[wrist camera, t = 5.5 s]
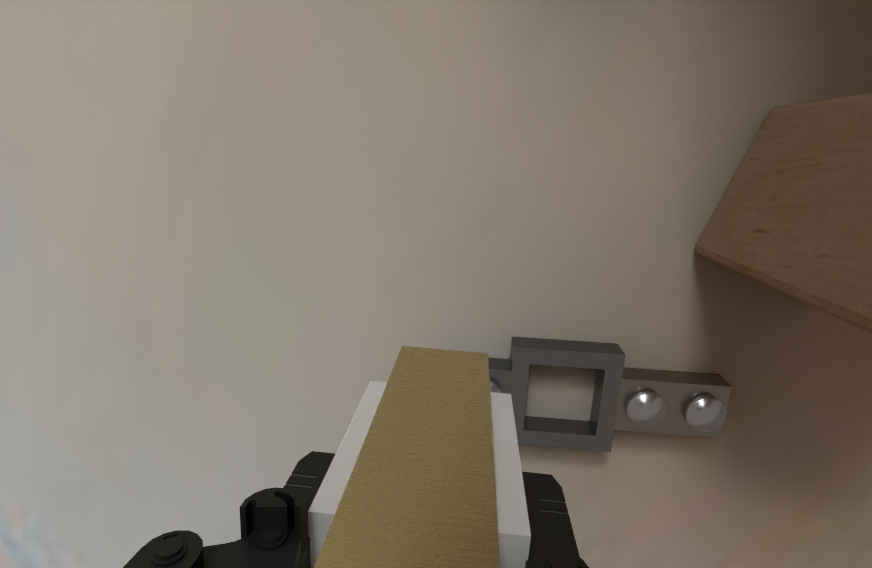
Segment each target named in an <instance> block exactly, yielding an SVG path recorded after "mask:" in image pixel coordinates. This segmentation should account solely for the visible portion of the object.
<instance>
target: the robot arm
mask: <svg viewBox="0 0 872 568" xmlns="http://www.w3.org/2000/svg"><path fill="white" fill-rule="evenodd" d="M386 385H387V382H377V381H370V383H369V385H368V387H367V389H366V391H365V393H364V395H363V397H362V399H361V402H360V404H359V406H358V408H357V410H356V412H355V414H354V416H353V418H352V420H351V423H350V425H349V427H348V429H347V431H346V433H345V435H344V437H343V439H342V441H341V444H340V446H339V448H338V450H337V452H336V454H333V453H324V452H314V451H312V452H310V453H309V454H308V455H306V456H305V457H304V458H302V459H301V460H300V461H299V462H298V464H297V465H296V467H295V469H294V470H293V472H292V475H290V477H289V479H288V481H287V482H286V485H285V486H284V487H283V488H270V489H264V490H262V491H259V492H256V493H254V494H253V495H251V496H250V497H248V498H247V499H245V501H244V502H243V504H242V505H241V506H240V522H241V539H240V540H238V541H235V542H230V543H226V544H219V545H212V546H205V547H203V542H202V539H201V538H200V537H199V535H198V534H196V533H193V532H191V531H173V532H169V533H165V534H163V535H160V536H158V537H156V538H154V539H152V540H151V541H150V542H148V543H147V544H146V545H145V546H143V547H142V548H141V549H140V550H139V551H138V552H137V553H136V554H135V555H134V557H133V558H132V559H131V560H130V561H129V562H128V563H127V564H126V565H125V566H124V567H123V568H314V566H315V563H316V561H317V558H318V556H319V553H320V551H321V548H322V546H323V543H324V541H325V538H326V536H327V533H328V531H329V528H330V526H331V523H332V521H333V518H334V516H335V513H336V510H337V508H338V505H339V503H340V500H341V498H342V495H343V493H344V490H345V488H346V485H347V483H348V480H349V478H350V475H351V473H352V470H353V468H354V465H355V463H356V460H357V458H358V455H359V453H360V450H361V448H362V445H363V443H364V440H365V438H366V435H367V433H368V430H369V428H370V425H371V423H372V420H373V418H374V415H375V413H376V410H377V407H378V405H379V402H380V400H381V397H382V395H383V392H384V390H385V387H386ZM490 398H491V416H492V434H493V452H494V470H495V488H496V506H497V524H498V542H499V560H500V568H589V567H588V566H587V565H586V563H585V562H584V561H583V560H582V559H581V558H580V557H579V553H578V549H577V545H576V541H575V538H574V534H573V530H572V526H571V522H570V518H569V515H568V510H567V506H566V503H565V498H564V494H563V490H562V487H561V486H560V485H559V483H558V482H557V481H556V480H555V479H554V477H553V476H552V475H548V474H539V473H529V472H522V469H521V462H520V454H519V447H518V440H517V433H516V426H515V419H514V412H513V405H512V398H511V394H505V393H495V392H490Z"/></svg>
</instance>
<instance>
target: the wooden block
mask: <svg viewBox="0 0 872 568" xmlns="http://www.w3.org/2000/svg"><path fill="white" fill-rule="evenodd" d="M695 251H696V252H697V253H698V254H699V255H701V256H703V257H706V258H708V259H710V260H712V261H714V262H716V263H719V264H721V265H723V266H725V267H727V268H730V269H732V270H734V271H736V272H738V273H741V274H743V275H745V276H747V277H749V278H751V279H754V280H756V281H758V282H760V283H762V284H765V285H767V286H769V287H771V288H773V289H776V290H778V291H780V292H782V293H784V294H786V295H789V296H791V297H793V298H795V299H797V300H800V301H802V302H804V303H806V304H808V305H811V306H813V307H815V308H817V309H819V310H821V311H824V312H826V313H828V314H830V315H832V316H835V317H837V318H839V319H841V320H843V321H845V322H848V323H850V324H852V325H854V326H856V327H859V328H861V329H863V330H865V331H867V332H870V333H872V93H866V94H859V95H853V96H847V97H840V98H834V99H827V100H821V101H815V102H808V103H802V104H795V105H789V106H783V107H776V108H774V109H773V110H772V111H771V112H770V113H769V114H768V116H767V118H766V119H765V121H764V123H763V125H762V127H761V128H760V130H759V132H758V134H757V136H756V137H755V139H754V141H753V143H752V145H751V146H750V148H749V150H748V152H747V154H746V155H745V157H744V159H743V161H742V163H741V164H740V166H739V168H738V170H737V172H736V173H735V175H734V177H733V179H732V181H731V182H730V184H729V186H728V188H727V190H726V191H725V193H724V195H723V197H722V199H721V200H720V202H719V204H718V206H717V208H716V209H715V211H714V213H713V215H712V217H711V218H710V220H709V222H708V224H707V226H706V227H705V229H704V231H703V233H702V235H701V236H700V238H699V240H698V242H697V244H696V246H695Z"/></svg>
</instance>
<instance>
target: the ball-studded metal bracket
mask: <svg viewBox="0 0 872 568" xmlns="http://www.w3.org/2000/svg"><path fill="white" fill-rule="evenodd" d="M624 361H625V353H624V352H623V351H622V349H621V348H620V347H619V345H618V344H611V343H597V342H582V341H567V340H553V339H538V338H523V337H512V342H511V353H510V359H498V358H488V362H489V380H490V392H495V393H505V394H511V398H512V405H513V412H514V419H515V426H516V433H517V440H518V444H522V445H534V446H546V447H558V448H570V449H582V450H594V451H606V452H611V447H612V440H613V433H614V430H621V431H634V432H646V433H659V434H671V435H683V436H696V437H708V438H721V437H722V432H723V428H724V423H725V420H726V417H727V410H728V405H729V400H730V396H731V391H732V386H731V385H730V384H729V383H728V382H727V381H725V380H724V379H723V378H722V377H721V376H720V375H719V374H708V373H694V372H680V371H666V370H652V369H638V368H624ZM530 364H534V365H548V366H562V367H575V368H589V369H597V373H596V380H595V387H594V395H593V402H592V409H591V417H590V421H579V420H567V419H554V418H542V417H529V416H525V407H526V396H527V386H528V376H529V366H530Z"/></svg>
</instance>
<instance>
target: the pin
mask: <svg viewBox="0 0 872 568" xmlns="http://www.w3.org/2000/svg"><path fill="white" fill-rule="evenodd" d="M314 568H500V560H499V542H498V524H497V506H496V488H495V470H494V452H493V434H492V416H491V398H490V380H489V362H488V354H487V353H476V352H465V351H454V350H442V349H431V348H420V347H408V346H402V347H401V350H400V352H399V355H398V357H397V360H396V362H395V365H394V367H393V370H392V372H391V375H390V377H389V380H388V382H387V385H386V387H385V390H384V392H383V395H382V397H381V400H380V402H379V405H378V407H377V410H376V413H375V415H374V418H373V420H372V423H371V425H370V428H369V430H368V433H367V435H366V438H365V440H364V443H363V445H362V448H361V450H360V453H359V455H358V458H357V460H356V463H355V465H354V468H353V470H352V473H351V475H350V478H349V480H348V483H347V485H346V488H345V490H344V493H343V495H342V498H341V500H340V503H339V505H338V508H337V510H336V513H335V516H334V518H333V521H332V523H331V526H330V528H329V531H328V533H327V536H326V538H325V541H324V543H323V546H322V548H321V551H320V553H319V556H318V558H317V561H316V563H315V566H314Z"/></svg>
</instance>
